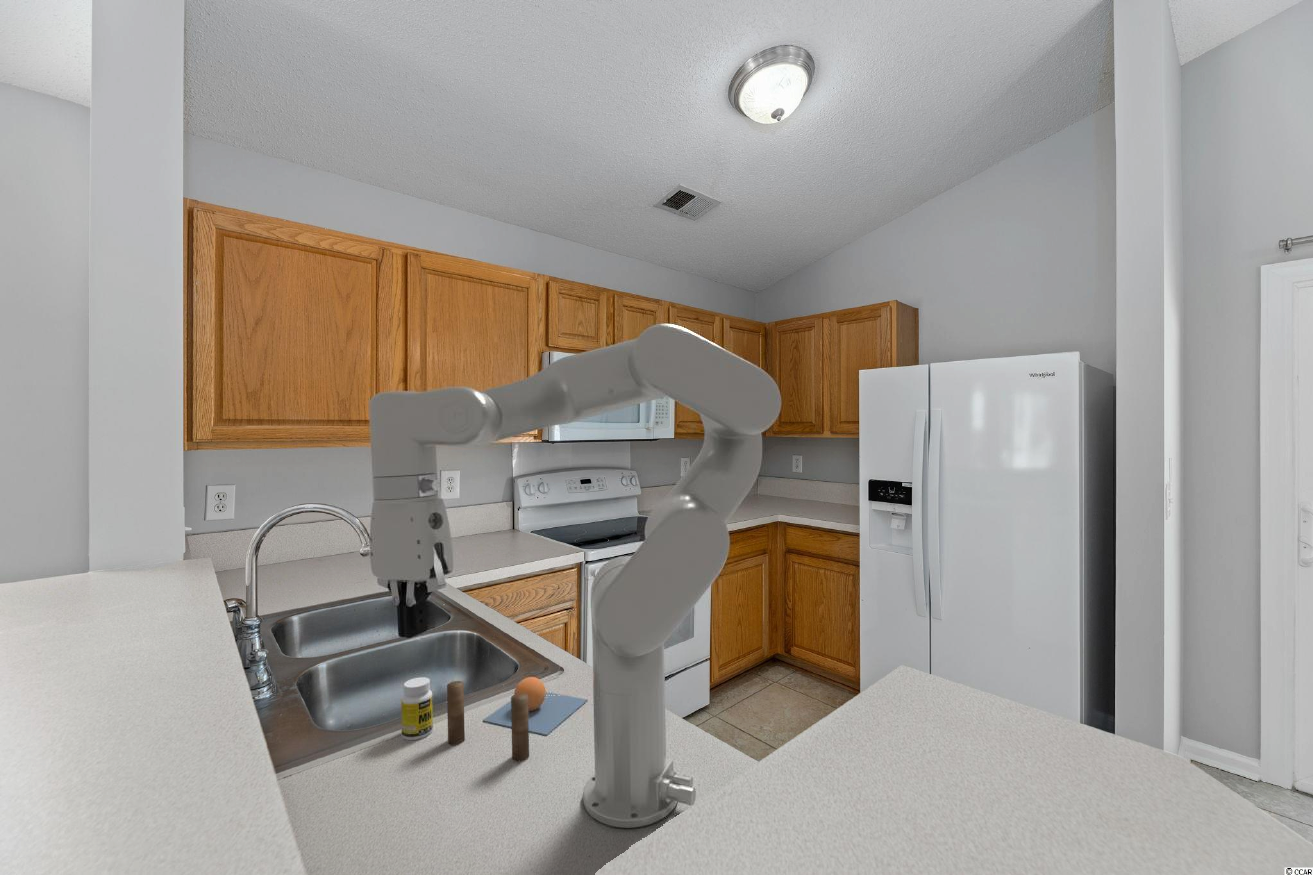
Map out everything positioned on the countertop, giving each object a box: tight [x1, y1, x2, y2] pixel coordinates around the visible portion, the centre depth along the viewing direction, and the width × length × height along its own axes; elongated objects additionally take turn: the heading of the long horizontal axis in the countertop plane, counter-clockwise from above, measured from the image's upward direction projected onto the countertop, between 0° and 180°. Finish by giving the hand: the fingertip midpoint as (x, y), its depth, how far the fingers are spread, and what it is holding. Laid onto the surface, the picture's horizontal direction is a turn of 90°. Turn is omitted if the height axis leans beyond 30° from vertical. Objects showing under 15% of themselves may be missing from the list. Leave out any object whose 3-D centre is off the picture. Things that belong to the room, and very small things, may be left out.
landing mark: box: [482, 691, 589, 736], centre depth 99 cm, size 13×13×1 cm
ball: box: [513, 676, 547, 711], centre depth 99 cm, size 6×6×6 cm
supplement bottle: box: [400, 676, 434, 741], centre depth 92 cm, size 5×5×8 cm
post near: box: [510, 693, 530, 763], centre depth 85 cm, size 2×2×9 cm
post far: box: [446, 680, 466, 746], centre depth 89 cm, size 2×2×9 cm
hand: (413, 633), depth 71 cm, fingers closed
